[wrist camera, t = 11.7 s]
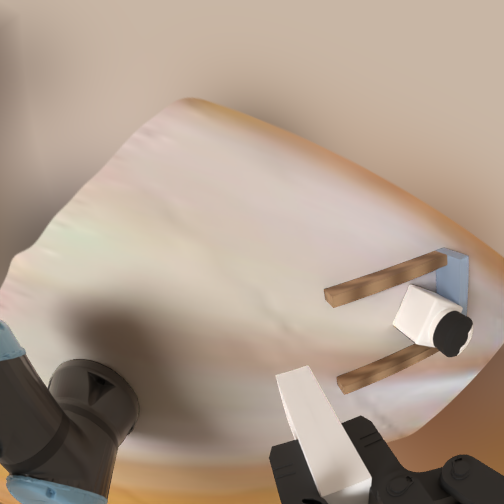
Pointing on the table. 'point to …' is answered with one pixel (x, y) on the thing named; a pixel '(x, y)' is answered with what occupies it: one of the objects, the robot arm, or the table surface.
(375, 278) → the guide channel
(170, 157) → the table surface
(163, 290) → the table surface
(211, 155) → the table surface
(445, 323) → the medicine bottle
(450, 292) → the end stop
